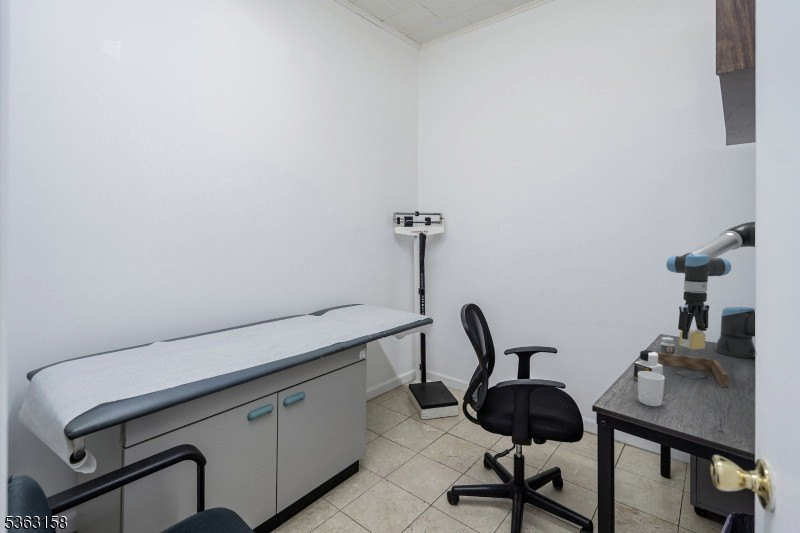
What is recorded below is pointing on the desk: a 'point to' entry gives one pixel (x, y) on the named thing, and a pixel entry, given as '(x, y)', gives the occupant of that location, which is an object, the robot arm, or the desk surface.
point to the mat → (690, 374)
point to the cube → (695, 340)
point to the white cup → (650, 388)
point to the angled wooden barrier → (695, 365)
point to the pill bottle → (667, 345)
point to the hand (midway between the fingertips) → (692, 345)
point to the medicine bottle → (647, 363)
